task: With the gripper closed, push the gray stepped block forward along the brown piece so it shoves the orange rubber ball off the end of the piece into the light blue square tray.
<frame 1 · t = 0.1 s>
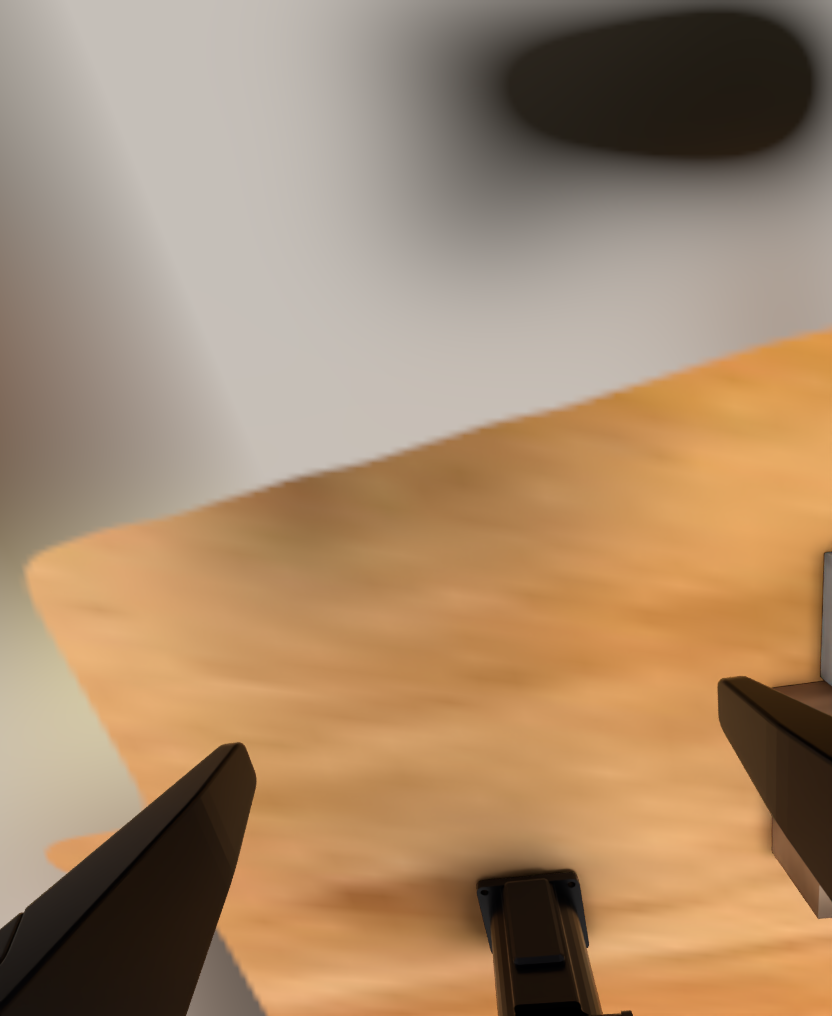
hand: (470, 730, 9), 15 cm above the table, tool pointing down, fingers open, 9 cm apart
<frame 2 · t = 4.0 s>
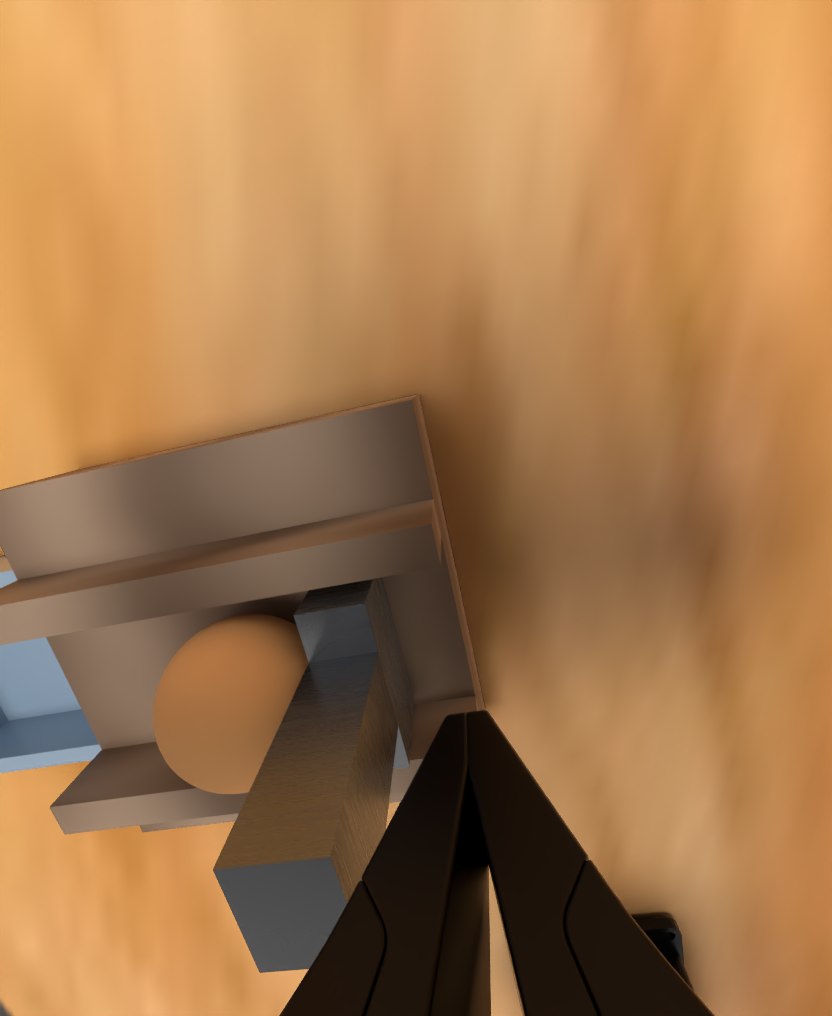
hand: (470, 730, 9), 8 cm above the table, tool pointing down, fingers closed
light blue square tray: (50, 639, 18), on the table
brown piece: (292, 596, 16), on the table
gray stepped block: (344, 731, 9), point 7 cm above the table, slide at 0.5 cm, touching gripper
ball: (247, 697, 11), point 5 cm above the table, touching brown piece
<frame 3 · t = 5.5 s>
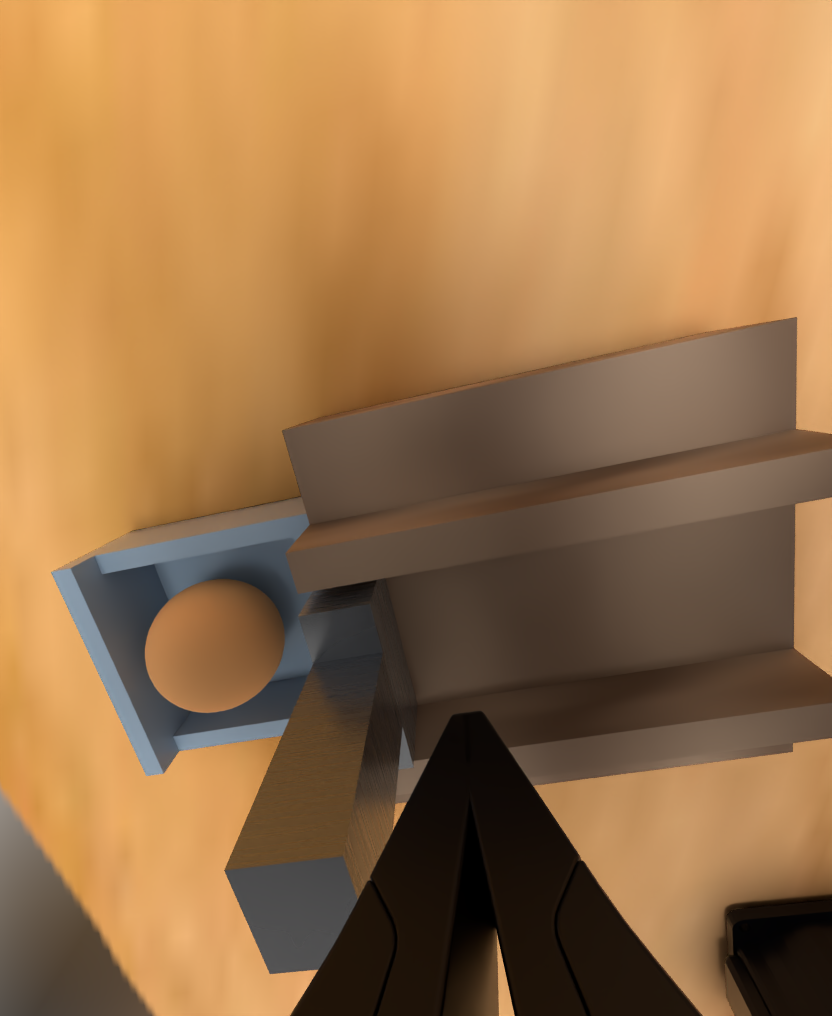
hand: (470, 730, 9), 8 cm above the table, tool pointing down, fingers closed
light blue square tray: (259, 604, 16), on the table
brown piece: (531, 554, 16), on the table
gray stepped block: (349, 732, 9), point 7 cm above the table, slide at 9.1 cm, touching gripper
ball: (218, 643, 14), point 2 cm above the table, tilted 17°, touching light blue square tray
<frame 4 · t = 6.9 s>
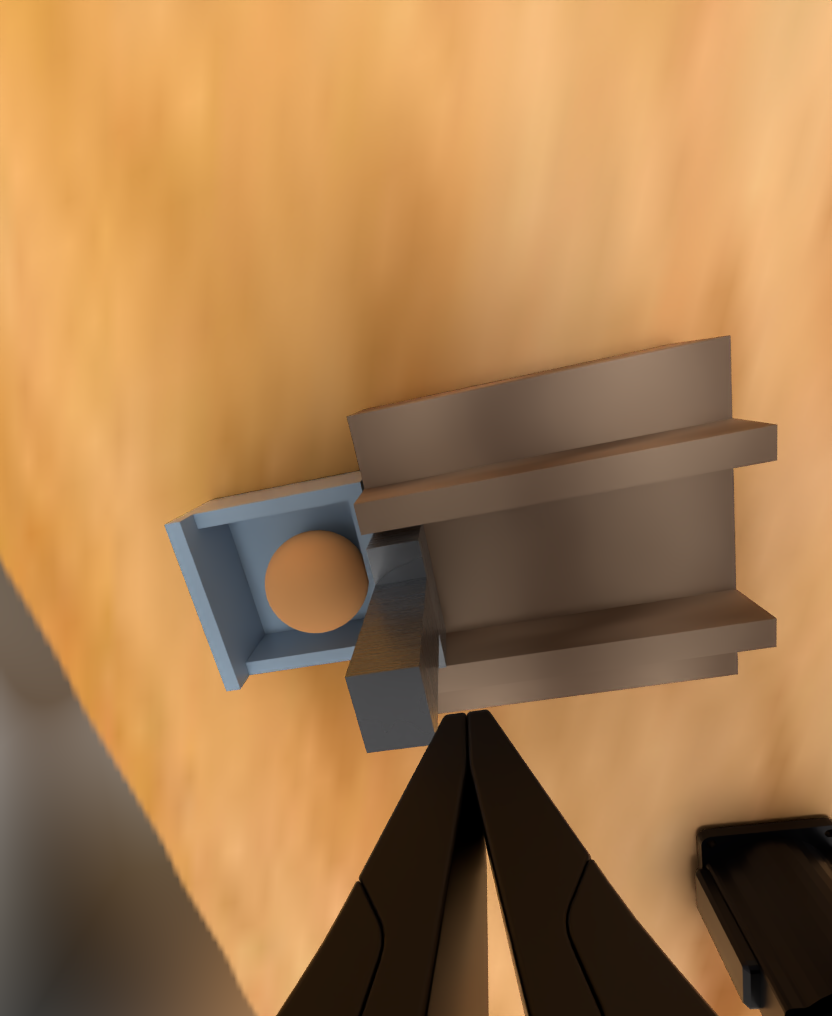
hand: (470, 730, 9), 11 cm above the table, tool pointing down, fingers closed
light blue square tray: (311, 561, 20), on the table
brown piece: (534, 521, 19), on the table
gray stepped block: (404, 629, 13), point 7 cm above the table, slide at 9.0 cm
ball: (318, 580, 18), point 2 cm above the table, tilted 57°, touching light blue square tray
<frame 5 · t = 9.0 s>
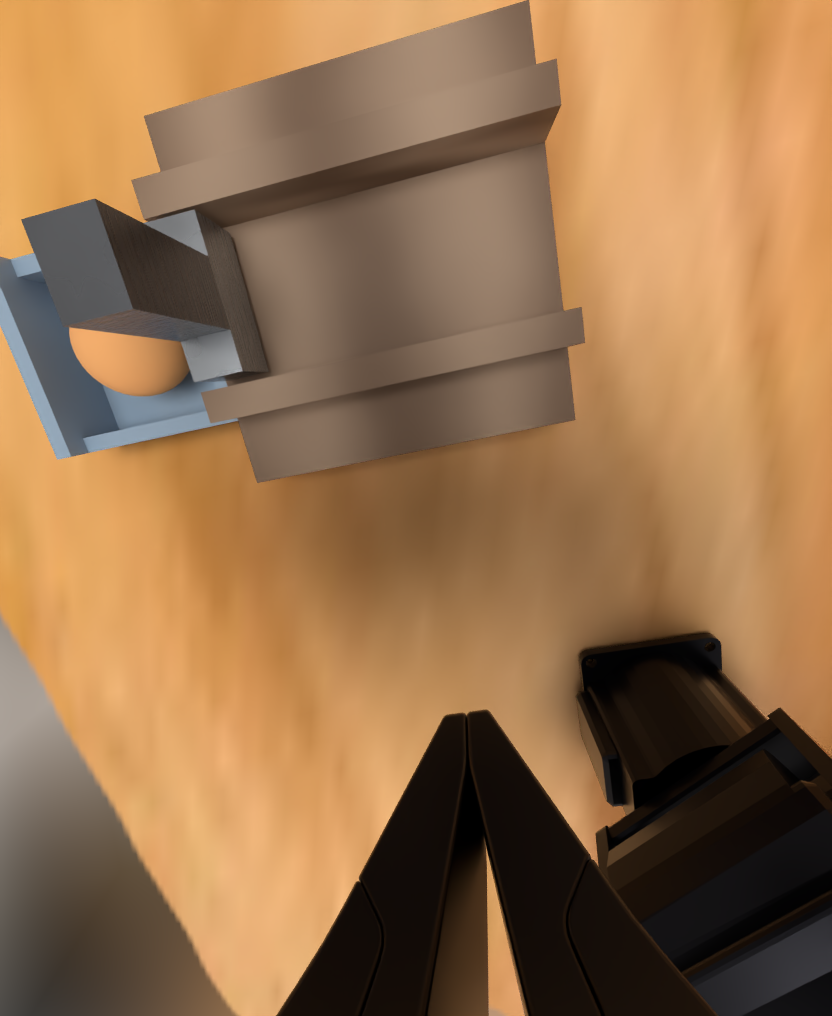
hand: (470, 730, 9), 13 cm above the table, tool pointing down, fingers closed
light blue square tray: (163, 348, 20), on the table
brown piece: (385, 295, 18), on the table
gray stepped block: (172, 293, 12), point 7 cm above the table, slide at 9.0 cm
ball: (135, 342, 17), point 2 cm above the table, tilted 41°, touching light blue square tray
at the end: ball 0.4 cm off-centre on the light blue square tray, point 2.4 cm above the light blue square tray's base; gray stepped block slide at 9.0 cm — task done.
